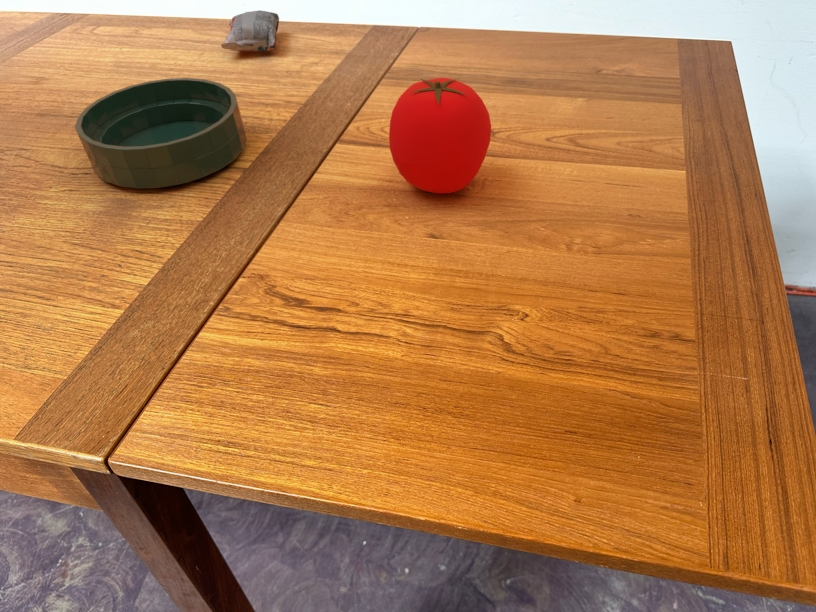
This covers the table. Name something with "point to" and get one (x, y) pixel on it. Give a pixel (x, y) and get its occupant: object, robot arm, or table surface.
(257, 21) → the packaged food
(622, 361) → the table surface
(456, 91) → the tomato
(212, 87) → the bowl
